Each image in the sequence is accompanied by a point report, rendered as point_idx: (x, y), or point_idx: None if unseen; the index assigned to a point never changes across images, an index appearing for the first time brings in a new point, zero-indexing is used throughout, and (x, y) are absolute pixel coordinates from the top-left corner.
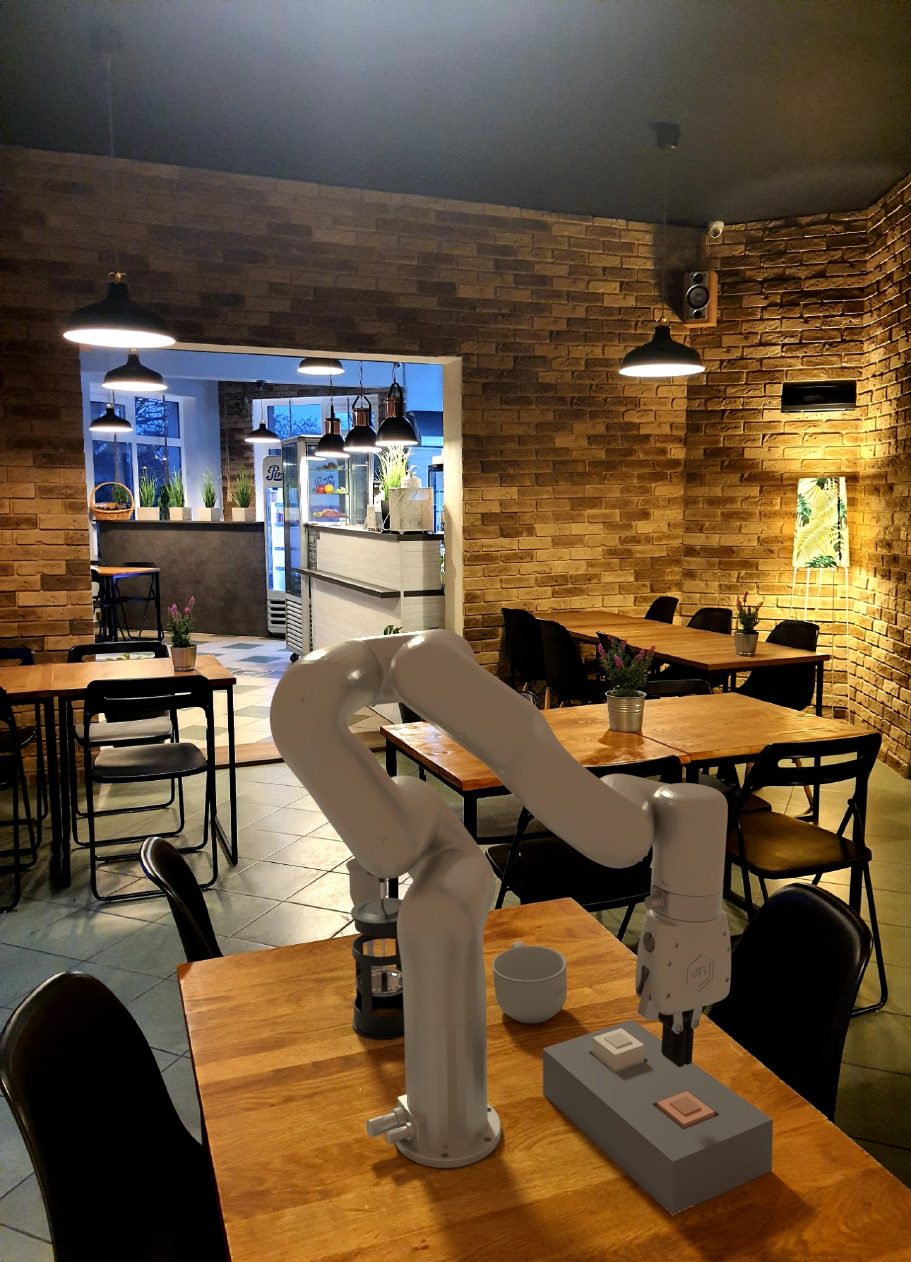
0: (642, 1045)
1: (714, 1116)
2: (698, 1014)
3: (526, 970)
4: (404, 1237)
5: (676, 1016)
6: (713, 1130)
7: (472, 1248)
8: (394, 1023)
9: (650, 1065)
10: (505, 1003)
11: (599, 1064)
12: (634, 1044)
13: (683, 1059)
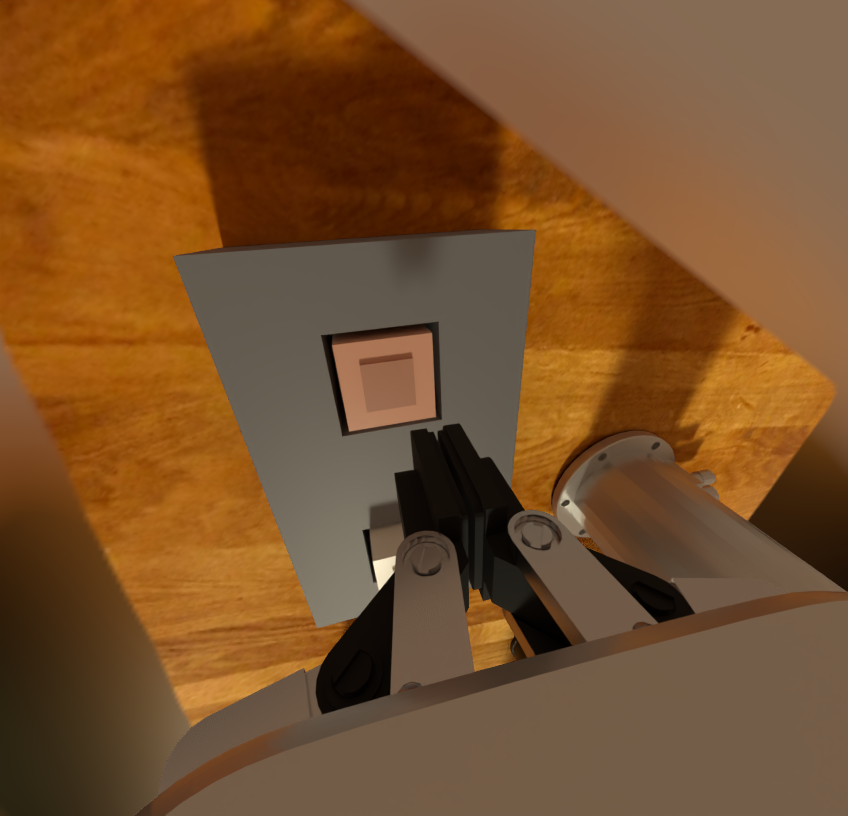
0: (377, 559)
1: (332, 341)
2: (414, 604)
3: None
4: (751, 350)
5: (604, 591)
6: (374, 288)
7: (721, 303)
8: None
9: (367, 518)
10: None
11: None
12: (391, 564)
13: (456, 435)
